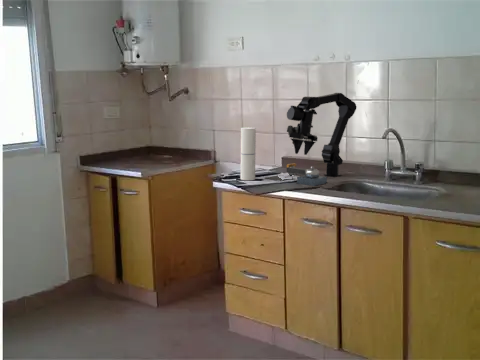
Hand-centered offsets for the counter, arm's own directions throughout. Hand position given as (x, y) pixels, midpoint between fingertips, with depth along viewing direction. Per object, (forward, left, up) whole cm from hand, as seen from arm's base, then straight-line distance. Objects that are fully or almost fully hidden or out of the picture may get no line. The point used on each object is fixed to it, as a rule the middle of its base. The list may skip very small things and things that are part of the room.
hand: (300, 154), depth 280 cm
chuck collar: (+5, +5, -9) cm, 11 cm away
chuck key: (-5, -9, -12) cm, 16 cm away
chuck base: (+5, +11, -12) cm, 17 cm away
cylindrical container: (+18, -18, -13) cm, 29 cm away
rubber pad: (+6, -8, -12) cm, 16 cm away
